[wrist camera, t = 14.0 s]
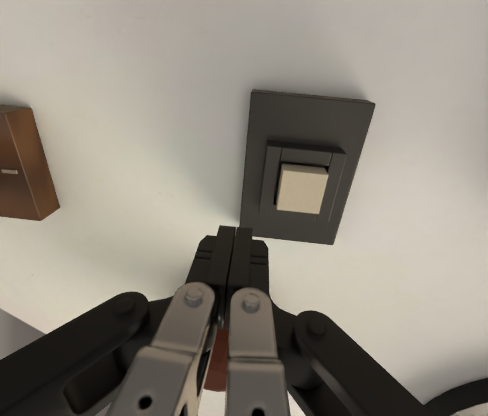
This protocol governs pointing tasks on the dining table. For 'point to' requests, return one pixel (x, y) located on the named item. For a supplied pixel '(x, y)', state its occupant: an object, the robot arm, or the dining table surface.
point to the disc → (462, 401)
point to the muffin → (218, 362)
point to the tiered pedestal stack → (300, 160)
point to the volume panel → (23, 168)
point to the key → (301, 188)
